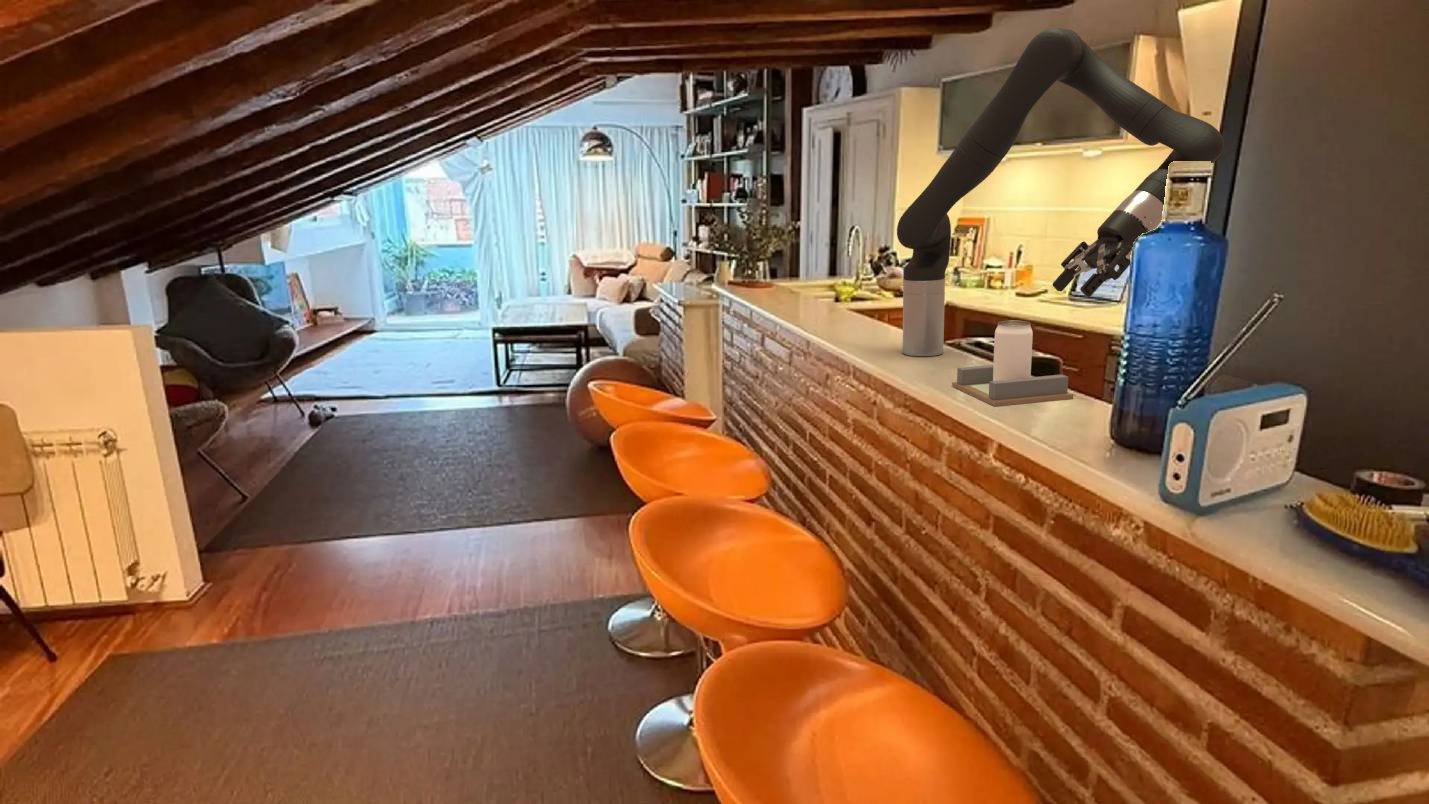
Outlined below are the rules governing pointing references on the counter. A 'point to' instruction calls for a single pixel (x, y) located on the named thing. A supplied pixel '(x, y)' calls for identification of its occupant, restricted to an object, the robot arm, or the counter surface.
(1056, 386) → the twin rail tray
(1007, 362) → the can
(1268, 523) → the counter surface
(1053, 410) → the counter surface
